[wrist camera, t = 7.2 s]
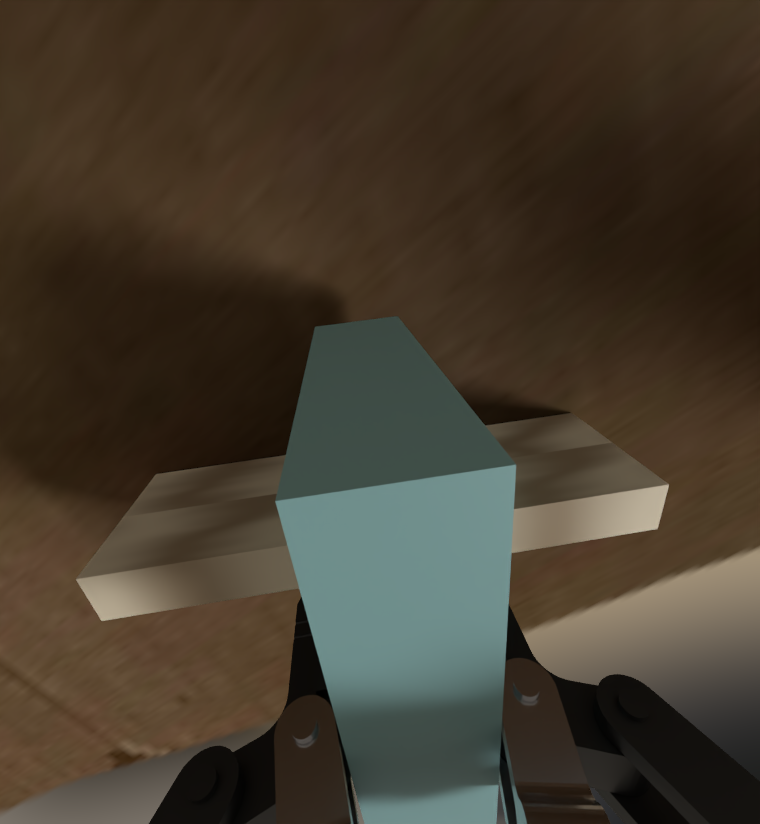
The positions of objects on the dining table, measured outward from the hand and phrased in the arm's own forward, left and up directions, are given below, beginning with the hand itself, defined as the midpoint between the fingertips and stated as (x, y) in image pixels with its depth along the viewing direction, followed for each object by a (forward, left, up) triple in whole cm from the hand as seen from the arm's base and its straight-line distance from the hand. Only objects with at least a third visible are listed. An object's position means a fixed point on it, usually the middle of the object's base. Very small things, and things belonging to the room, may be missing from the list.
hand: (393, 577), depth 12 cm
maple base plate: (0, 0, -7) cm, 7 cm away
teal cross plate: (0, 0, -5) cm, 5 cm away
